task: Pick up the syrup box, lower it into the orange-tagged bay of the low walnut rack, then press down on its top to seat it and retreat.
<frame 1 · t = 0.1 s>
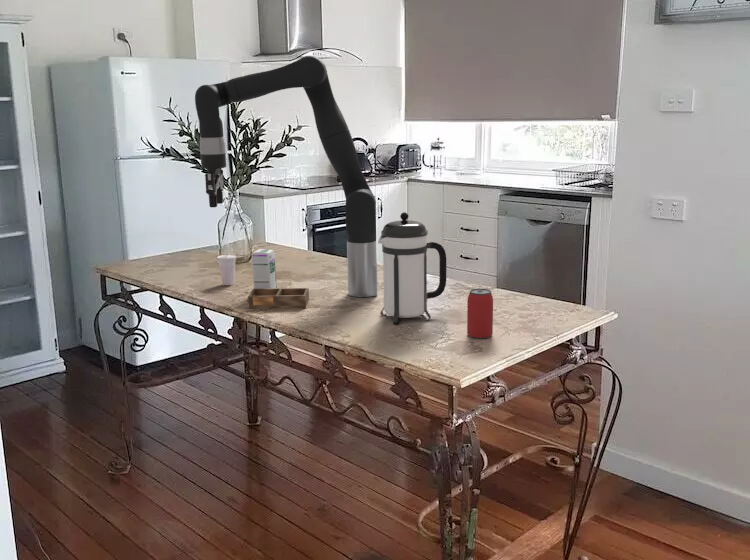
hand: (216, 205, 235), 29 cm above the table, tool pointing down, fingers open, 8 cm apart
coffee press: (408, 317, 216), on the table
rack: (279, 304, 231), on the table
beer can: (479, 336, 198), on the table
syrup box: (265, 295, 242), on the table
smoothie: (228, 285, 257), on the table
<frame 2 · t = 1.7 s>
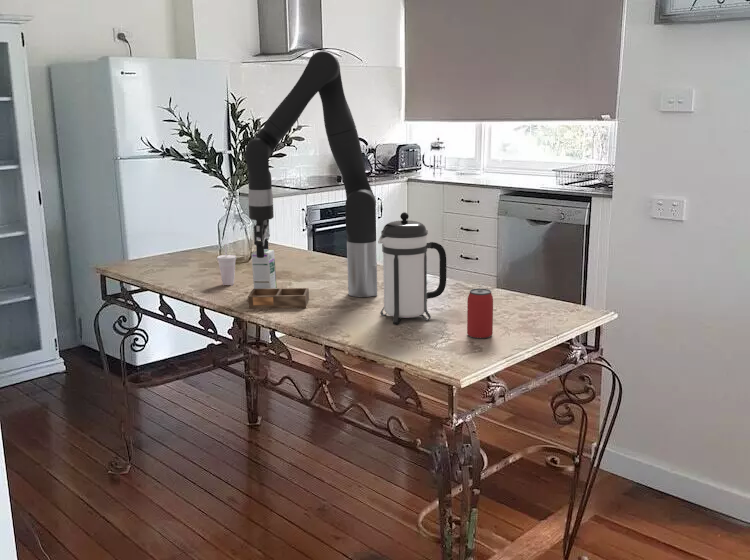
hand: (262, 254, 239), 13 cm above the table, tool pointing down, fingers open, 8 cm apart
nothing on the table moved.
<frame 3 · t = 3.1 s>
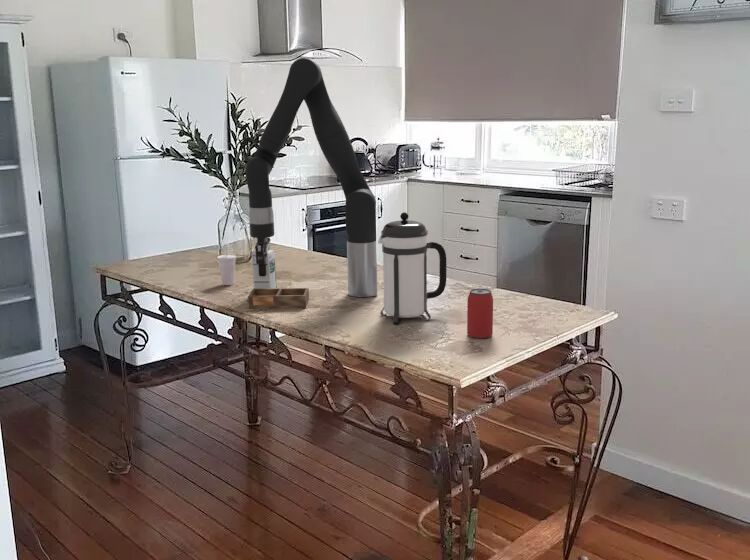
hand: (264, 273, 240), 7 cm above the table, tool pointing down, fingers closed on syrup box, 6 cm apart
syrup box: (265, 295, 242), on the table, touching gripper
everything else where it was.
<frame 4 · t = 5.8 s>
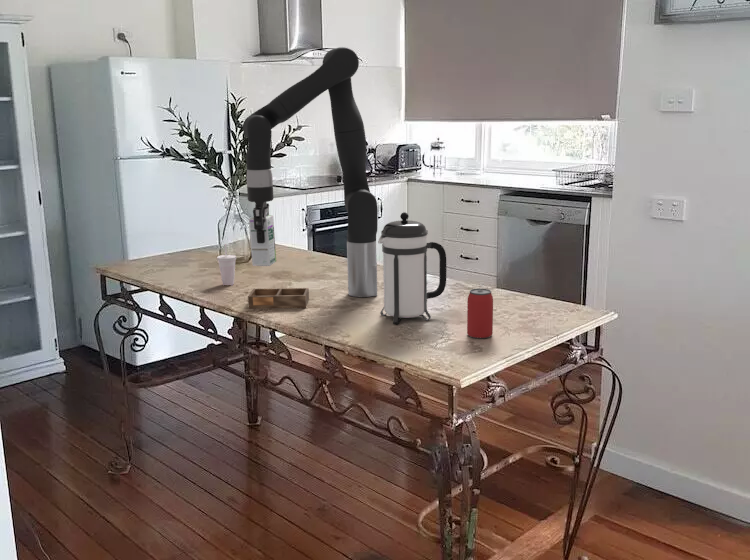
hand: (262, 240, 227), 20 cm above the table, tool pointing down, fingers closed on syrup box, 6 cm apart
syrup box: (264, 264, 228), point 12 cm above the table, touching gripper
everything else where it was.
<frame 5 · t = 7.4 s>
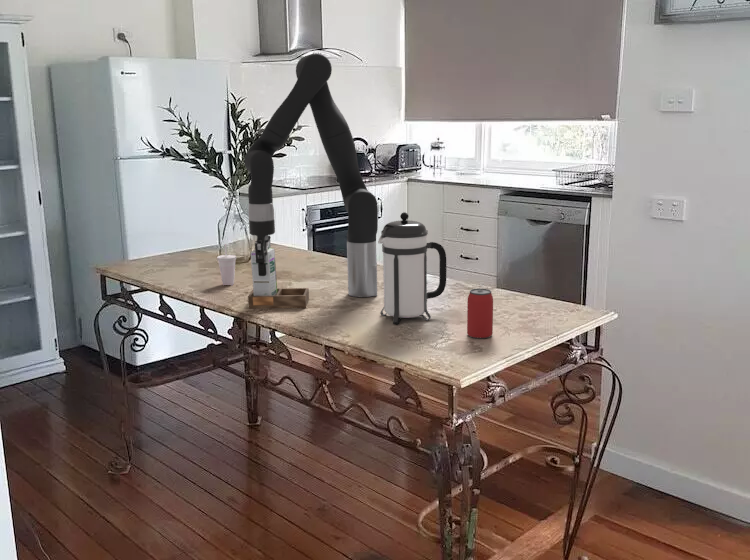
hand: (264, 273, 229), 10 cm above the table, tool pointing down, fingers closed on syrup box, 6 cm apart
syrup box: (265, 296, 231), point 2 cm above the table, touching gripper
everything else where it was.
when the fingers open (9 cm above the table, at t = 8.5 s): syrup box moves 1 cm, resting on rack.
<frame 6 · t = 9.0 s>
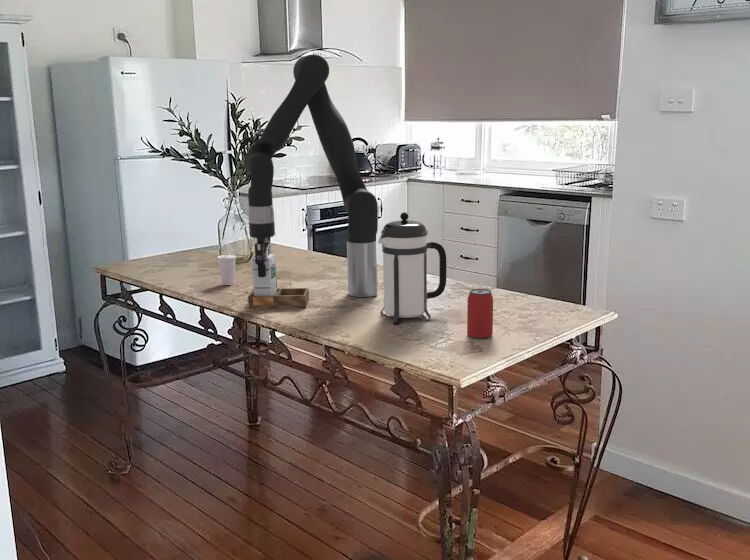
hand: (264, 273, 229), 10 cm above the table, tool pointing down, fingers open, 8 cm apart
syrup box: (266, 302, 231), point 1 cm above the table, touching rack
everything else where it was.
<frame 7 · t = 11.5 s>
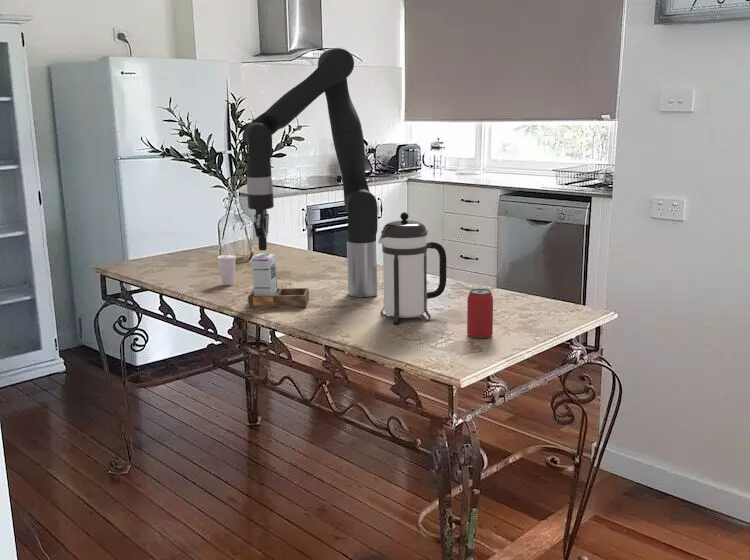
hand: (263, 249, 227), 17 cm above the table, tool pointing down, fingers closed
nothing on the table moved.
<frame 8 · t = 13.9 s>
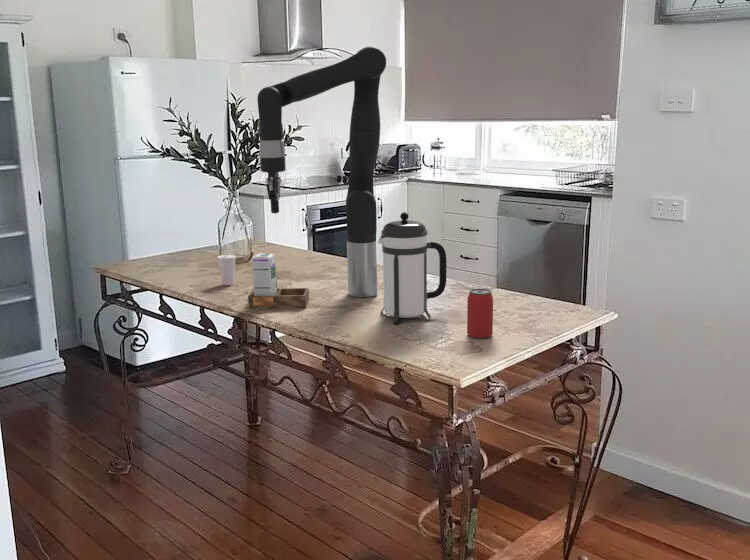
hand: (275, 212, 232), 27 cm above the table, tool pointing down, fingers closed
nothing on the table moved.
at the end: syrup box 0.2 cm from the target spot on the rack, point 0.7 cm above the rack's base; syrup box tilted 0°; the gripper is holding nothing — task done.
